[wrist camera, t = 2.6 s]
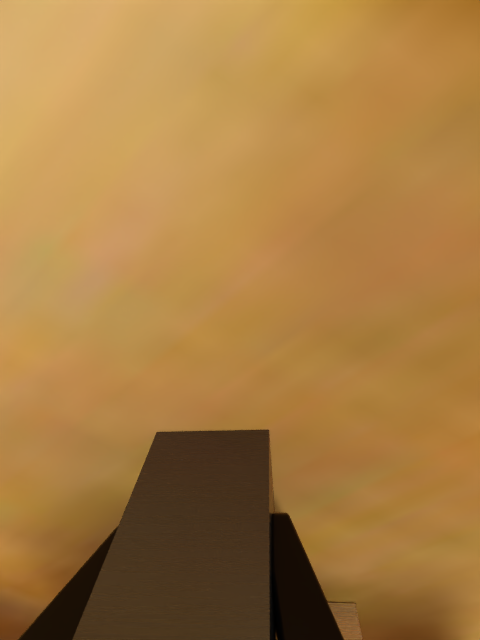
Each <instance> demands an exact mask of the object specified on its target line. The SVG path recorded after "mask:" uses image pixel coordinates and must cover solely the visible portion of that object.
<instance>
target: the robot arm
mask: <svg viewBox="0 0 480 640" xmlns="http://www.w3.org/2000/svg"><path fill="white" fill-rule="evenodd" d="M118 526H119V525H118ZM118 526H117V528H116V529H115V530H114V531H113V532H112V533H111V534H110V536H109V537H108V538H107V539H106V540H105V541H104V542H103V544H102V545H101V546H100V547H99V548H98V549H97V550H96V551H95V553H94V554H93V555H92V556H91V557H90V558H89V559H88V561H87V562H86V563H85V564H84V565H83V566H82V567H81V569H80V570H79V571H78V572H77V573H76V574H75V575H74V577H73V578H72V579H71V580H70V581H69V582H68V583H67V584H66V586H65V587H64V588H63V589H62V590H61V591H60V592H59V594H58V595H57V596H56V597H55V598H54V599H53V600H52V602H51V603H50V604H49V605H48V606H47V607H46V608H45V610H44V611H43V612H42V613H41V614H40V615H39V616H38V617H37V619H36V620H35V621H34V622H33V623H32V624H31V625H30V627H29V628H28V629H27V630H26V631H25V632H24V633H23V635H22V636H21V637H20V638H19V639H18V640H72V639H73V637H74V634H75V632H76V629H77V627H78V625H79V622H80V620H81V617H82V615H83V612H84V610H85V607H86V605H87V602H88V600H89V598H90V595H91V593H92V590H93V588H94V585H95V583H96V580H97V578H98V575H99V573H100V571H101V568H102V566H103V563H104V561H105V558H106V556H107V553H108V551H109V548H110V546H111V543H112V541H113V539H114V536H115V534H116V531H117V529H118ZM271 577H272V589H273V601H274V613H275V624H276V635H277V640H344V638H343V636H342V633H341V631H340V629H339V627H338V624H337V622H336V620H335V618H334V615H333V613H332V611H331V609H330V606H329V604H328V602H327V600H326V597H325V595H324V593H323V591H322V588H321V586H320V584H319V582H318V579H317V577H316V575H315V573H314V570H313V568H312V566H311V563H310V561H309V559H308V557H307V554H306V552H305V550H304V548H303V545H302V543H301V541H300V539H299V536H298V534H297V532H296V530H295V527H294V525H293V523H292V521H291V518H290V516H289V515H288V514H287V513H272V515H271Z"/></svg>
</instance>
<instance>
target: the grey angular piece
mask: <svg viewBox="0 0 480 640" xmlns="http://www.w3.org/2000/svg"><path fill="white" fill-rule="evenodd" d="M272 513H275V509H274V495H273V481H272V467H271V452H270V438H269V430H235V431H185V432H157V433H156V435H155V438H154V440H153V443H152V445H151V448H150V450H149V453H148V455H147V457H146V460H145V462H144V465H143V467H142V470H141V472H140V475H139V477H138V480H137V482H136V484H135V487H134V489H133V492H132V494H131V497H130V499H129V502H128V504H127V507H126V509H125V512H124V514H123V516H122V519H121V521H120V524H119V526H118V529H117V531H116V534H115V536H114V539H113V541H112V543H111V546H110V548H109V551H108V553H107V556H106V558H105V561H104V563H103V566H102V568H101V571H100V573H99V575H98V578H97V580H96V583H95V585H94V588H93V590H92V593H91V595H90V598H89V600H88V602H87V605H86V607H85V610H84V612H83V615H82V617H81V620H80V622H79V625H78V627H77V629H76V632H75V634H74V637H73V639H72V640H277V635H276V624H275V613H274V601H273V589H272V577H271V515H272ZM328 604H329V606H330V609H331V611H332V613H333V615H334V618H335V620H336V622H337V624H338V627H339V629H340V631H341V633H342V636H343V638H344V640H363V639H362V634H361V629H360V624H359V619H358V614H357V609H356V604H355V603H328Z"/></svg>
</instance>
